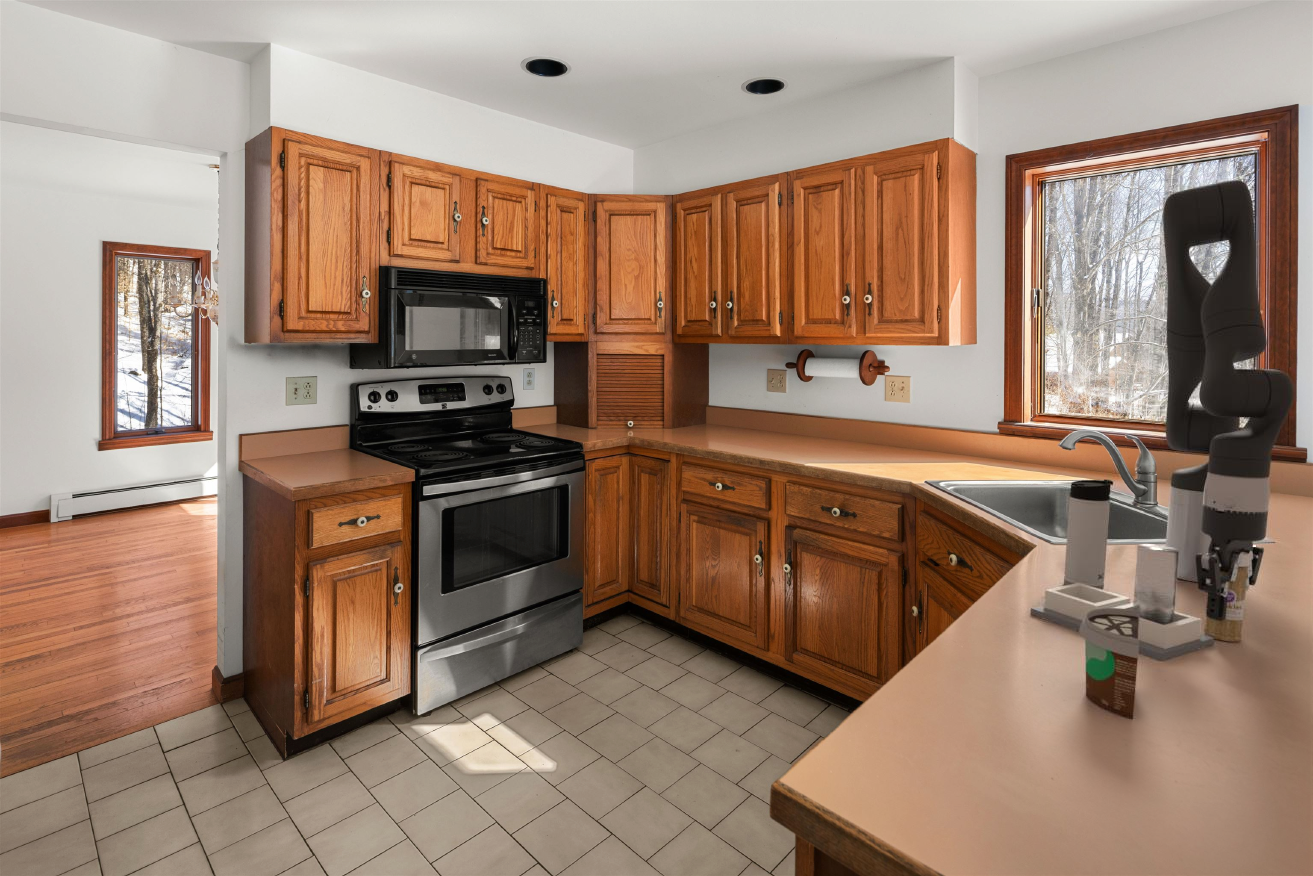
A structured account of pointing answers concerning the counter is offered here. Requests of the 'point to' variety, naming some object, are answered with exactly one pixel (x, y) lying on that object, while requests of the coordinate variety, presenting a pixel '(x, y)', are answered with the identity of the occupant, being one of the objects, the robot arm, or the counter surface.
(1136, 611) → the food container
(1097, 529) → the travel mug
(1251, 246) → the robot arm
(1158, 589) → the cylinder
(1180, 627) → the grey and white holder
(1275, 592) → the counter surface
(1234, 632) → the sprinkles bottle
